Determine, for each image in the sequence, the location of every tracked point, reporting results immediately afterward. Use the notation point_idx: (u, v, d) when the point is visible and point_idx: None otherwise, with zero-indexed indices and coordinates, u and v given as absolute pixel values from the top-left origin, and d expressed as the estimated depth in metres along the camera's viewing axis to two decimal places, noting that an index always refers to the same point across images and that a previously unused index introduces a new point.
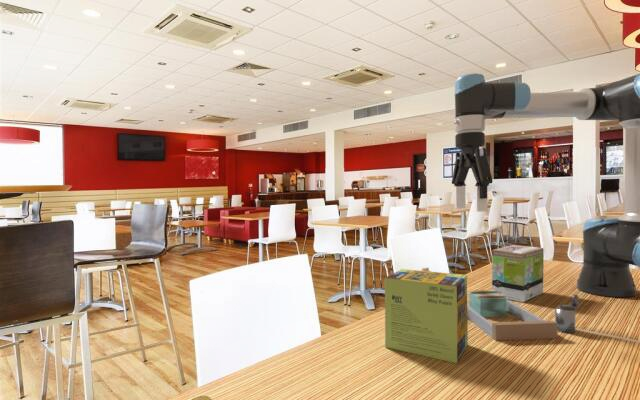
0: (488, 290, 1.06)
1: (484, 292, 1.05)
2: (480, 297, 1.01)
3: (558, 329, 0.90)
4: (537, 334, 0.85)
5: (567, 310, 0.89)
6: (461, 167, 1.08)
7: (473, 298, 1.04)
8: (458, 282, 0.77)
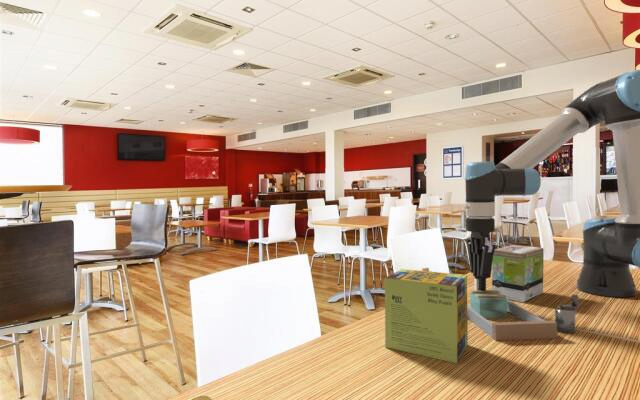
0: (490, 290, 1.05)
1: (485, 292, 1.05)
2: (480, 297, 1.00)
3: (558, 329, 0.90)
4: (537, 334, 0.85)
5: (567, 310, 0.89)
6: (474, 251, 1.08)
7: (473, 298, 1.04)
8: (458, 282, 0.77)
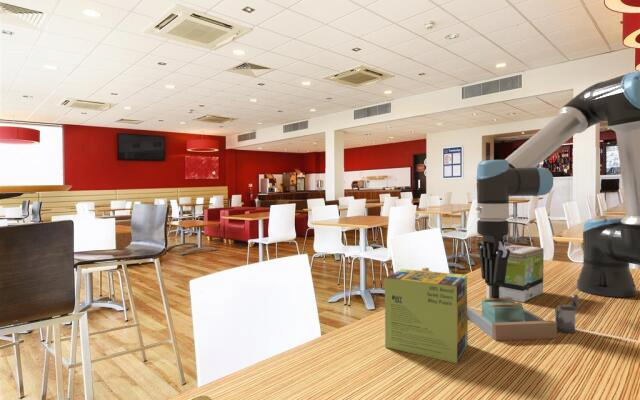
0: (503, 298, 0.98)
1: (498, 300, 0.97)
2: (494, 306, 0.93)
3: (558, 329, 0.90)
4: (537, 334, 0.85)
5: (567, 310, 0.89)
6: (487, 256, 1.00)
7: (486, 306, 0.97)
8: (458, 282, 0.77)
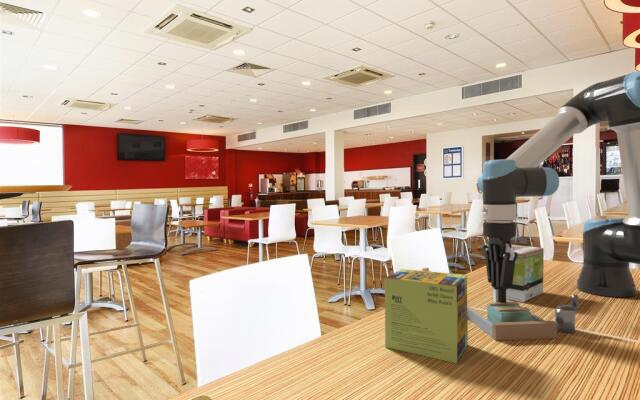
0: (509, 302, 0.95)
1: (504, 304, 0.94)
2: (501, 311, 0.90)
3: (558, 329, 0.90)
4: (537, 334, 0.85)
5: (567, 310, 0.89)
6: (493, 259, 0.97)
7: (492, 311, 0.94)
8: (458, 282, 0.77)
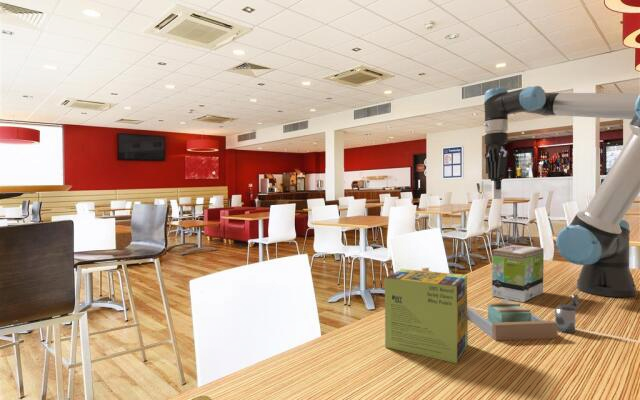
0: (510, 303, 0.95)
1: (505, 305, 0.94)
2: (501, 311, 0.89)
3: (558, 329, 0.90)
4: (537, 334, 0.85)
5: (567, 310, 0.89)
6: (492, 160, 1.38)
7: (492, 312, 0.93)
8: (458, 282, 0.77)
